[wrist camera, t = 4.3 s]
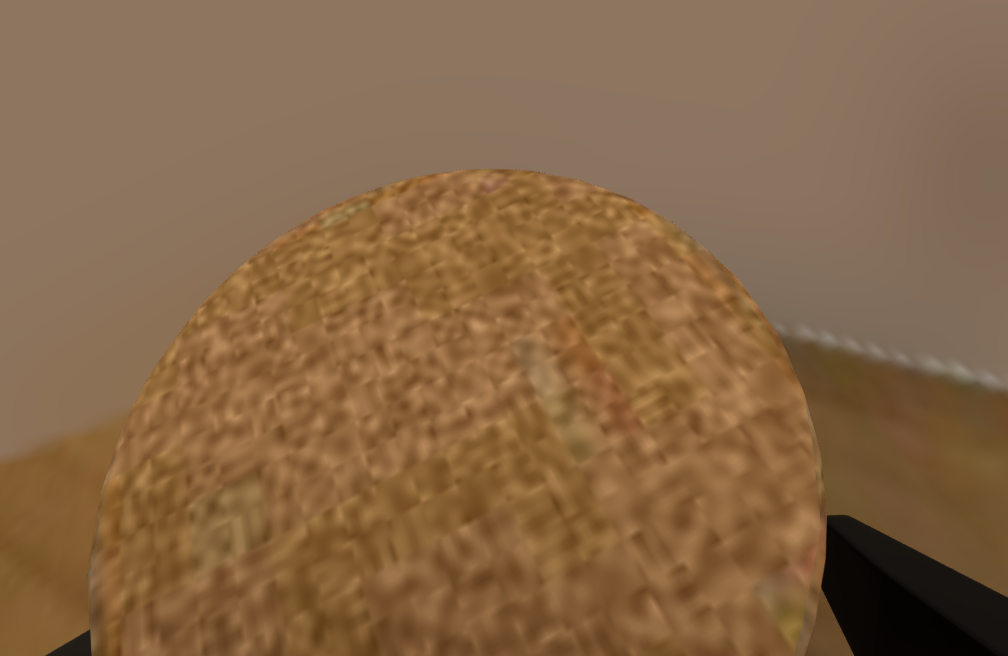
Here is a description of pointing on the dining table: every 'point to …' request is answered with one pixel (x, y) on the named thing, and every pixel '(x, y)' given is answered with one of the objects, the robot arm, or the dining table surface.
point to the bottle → (467, 444)
